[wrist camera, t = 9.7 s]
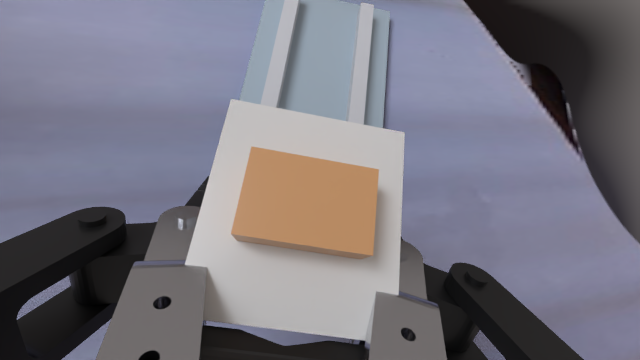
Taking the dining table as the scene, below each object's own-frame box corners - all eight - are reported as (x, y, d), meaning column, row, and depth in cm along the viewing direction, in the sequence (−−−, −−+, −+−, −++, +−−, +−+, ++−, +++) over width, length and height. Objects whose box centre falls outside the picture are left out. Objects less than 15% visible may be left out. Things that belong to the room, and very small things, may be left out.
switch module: (319, 306, 15) (416, 354, 5) (238, 295, 14) (151, 321, 4) (330, 219, 16) (420, 114, 6) (257, 207, 16) (225, 74, 6)
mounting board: (374, 208, 23) (384, 199, 21) (220, 183, 23) (214, 172, 20) (386, 19, 30) (395, -3, 28) (269, -5, 29) (268, -30, 27)
